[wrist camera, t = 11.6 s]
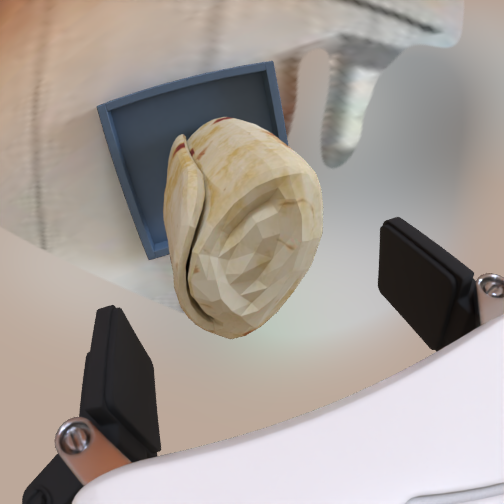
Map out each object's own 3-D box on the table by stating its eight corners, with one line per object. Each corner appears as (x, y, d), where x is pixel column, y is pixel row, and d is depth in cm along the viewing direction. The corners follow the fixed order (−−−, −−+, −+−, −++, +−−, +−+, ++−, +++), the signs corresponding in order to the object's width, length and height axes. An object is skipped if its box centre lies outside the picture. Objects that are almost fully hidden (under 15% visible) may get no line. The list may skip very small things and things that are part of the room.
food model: (214, 214, 32) (275, 369, 15) (150, 195, 30) (138, 349, 13) (254, 123, 29) (383, 188, 12) (188, 97, 26) (226, 112, 9)
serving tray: (149, 250, 33) (148, 260, 31) (101, 105, 25) (96, 106, 23) (291, 208, 35) (299, 216, 33) (266, 62, 27) (273, 60, 25)
